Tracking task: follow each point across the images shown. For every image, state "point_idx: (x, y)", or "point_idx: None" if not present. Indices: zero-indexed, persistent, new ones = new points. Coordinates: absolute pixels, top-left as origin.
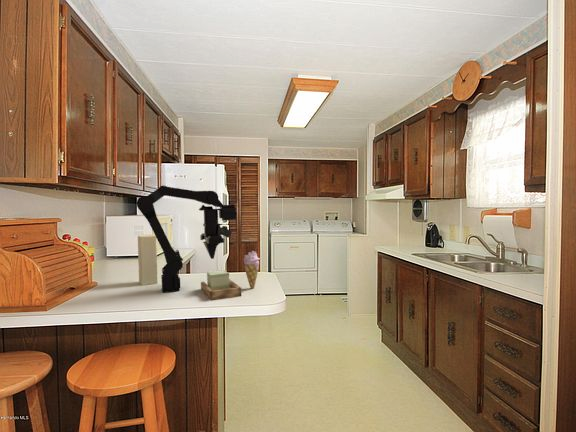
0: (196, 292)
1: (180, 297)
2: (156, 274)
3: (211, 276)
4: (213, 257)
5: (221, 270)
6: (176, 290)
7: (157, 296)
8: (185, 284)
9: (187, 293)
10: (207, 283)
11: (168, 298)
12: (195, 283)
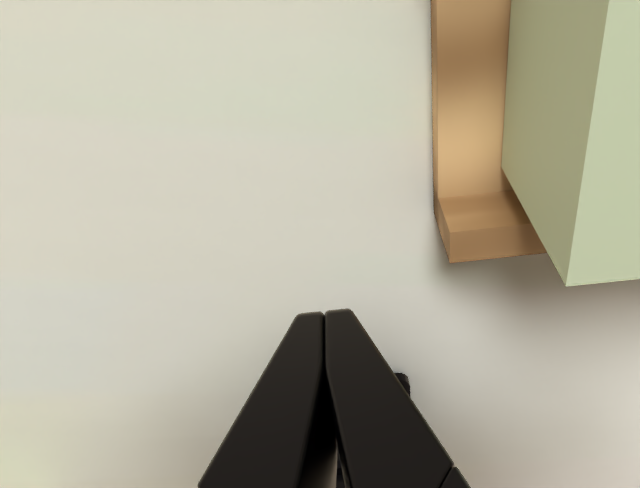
0: (544, 254)
1: (632, 362)
2: None
3: None
4: (365, 334)
5: (609, 47)
6: (408, 394)
7: (490, 473)
8: (144, 332)
9: (531, 319)
10: (517, 188)
11: (599, 423)
12: (120, 252)
